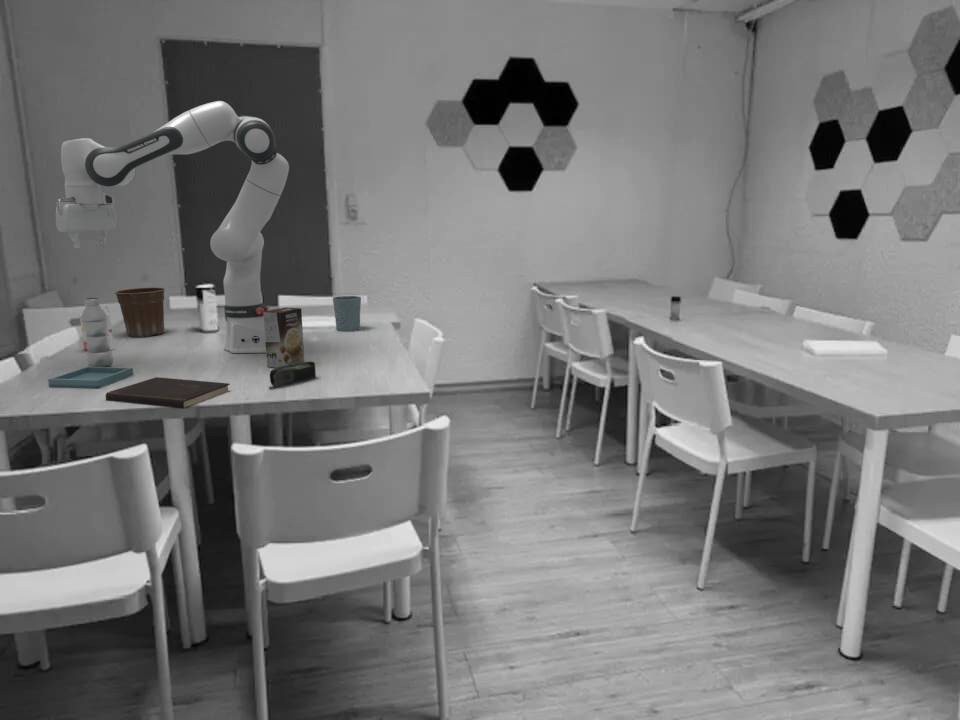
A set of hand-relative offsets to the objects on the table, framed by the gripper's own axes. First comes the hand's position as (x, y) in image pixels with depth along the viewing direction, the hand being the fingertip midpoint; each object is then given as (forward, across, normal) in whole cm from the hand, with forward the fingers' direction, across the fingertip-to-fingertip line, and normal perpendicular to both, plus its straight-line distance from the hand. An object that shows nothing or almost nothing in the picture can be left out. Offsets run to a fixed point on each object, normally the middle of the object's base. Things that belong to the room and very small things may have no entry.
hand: (90, 247), depth 195 cm
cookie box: (+33, +2, -56) cm, 66 cm away
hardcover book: (+34, -32, -42) cm, 63 cm away
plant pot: (+34, +43, +16) cm, 57 cm away
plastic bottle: (+34, -7, -4) cm, 35 cm away
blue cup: (+33, +59, -55) cm, 87 cm away
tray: (+34, -21, -12) cm, 42 cm away
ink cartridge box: (+34, +16, +14) cm, 40 cm away
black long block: (+33, -18, -67) cm, 77 cm away
